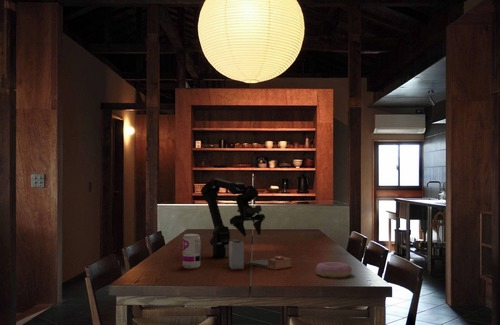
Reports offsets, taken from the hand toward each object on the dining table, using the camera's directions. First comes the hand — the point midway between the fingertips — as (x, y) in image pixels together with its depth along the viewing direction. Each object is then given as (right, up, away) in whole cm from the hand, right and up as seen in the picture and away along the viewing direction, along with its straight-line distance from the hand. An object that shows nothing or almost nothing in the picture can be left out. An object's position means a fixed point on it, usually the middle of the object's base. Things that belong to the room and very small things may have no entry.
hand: (252, 235), depth 246 cm
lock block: (-8, -13, -13) cm, 20 cm away
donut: (+35, -13, -29) cm, 47 cm away
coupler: (+8, -13, -7) cm, 17 cm away
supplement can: (-29, -14, -10) cm, 33 cm away
